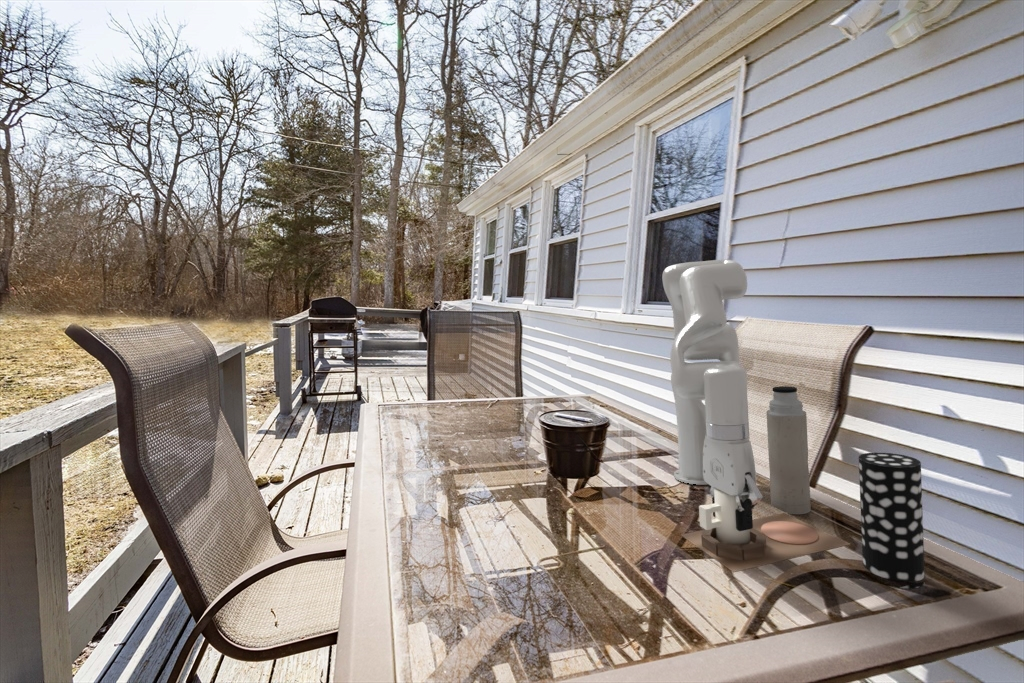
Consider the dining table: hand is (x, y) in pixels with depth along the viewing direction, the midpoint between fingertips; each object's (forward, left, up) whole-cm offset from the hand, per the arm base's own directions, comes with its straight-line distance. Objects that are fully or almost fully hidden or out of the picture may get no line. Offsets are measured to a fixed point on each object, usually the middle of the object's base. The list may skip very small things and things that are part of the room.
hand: (732, 521), depth 96 cm
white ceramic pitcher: (0, -1, -4) cm, 4 cm away
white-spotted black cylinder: (+17, +18, -6) cm, 26 cm away
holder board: (0, +6, -6) cm, 9 cm away
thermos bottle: (-12, +25, -6) cm, 28 cm away
